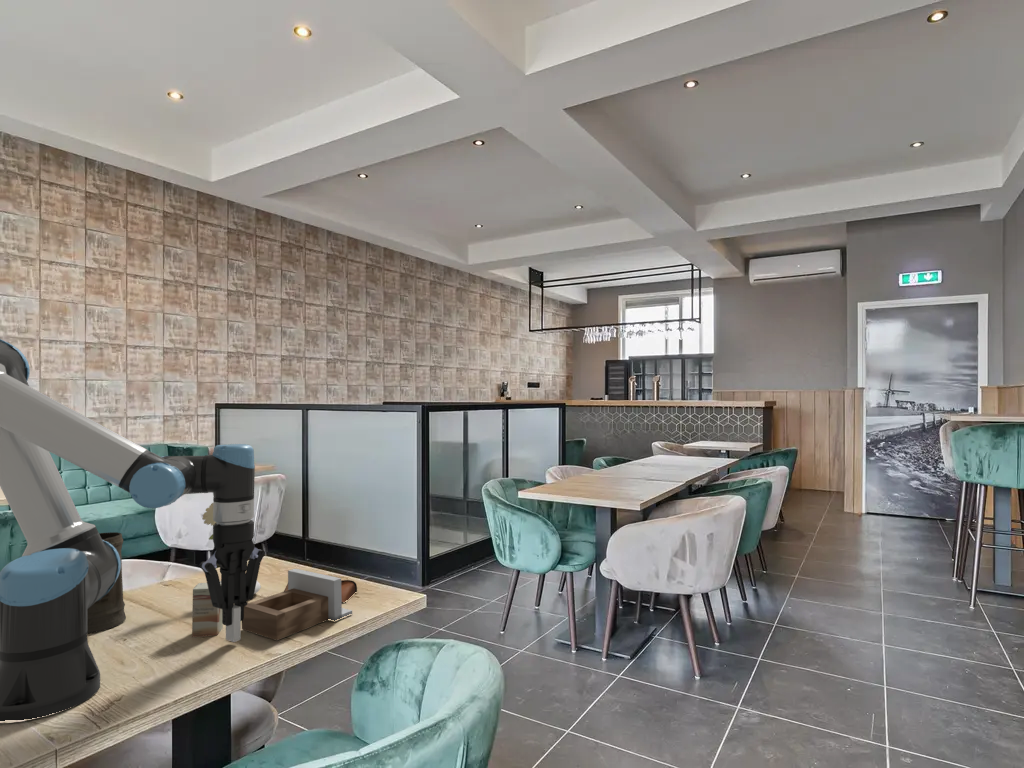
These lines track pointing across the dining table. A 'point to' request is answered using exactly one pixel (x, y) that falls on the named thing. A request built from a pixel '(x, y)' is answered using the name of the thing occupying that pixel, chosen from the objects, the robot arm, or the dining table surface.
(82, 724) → the dining table surface
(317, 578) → the wall
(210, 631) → the skincare box
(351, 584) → the sunglasses case
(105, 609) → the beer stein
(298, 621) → the socket block
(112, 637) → the dining table surface
